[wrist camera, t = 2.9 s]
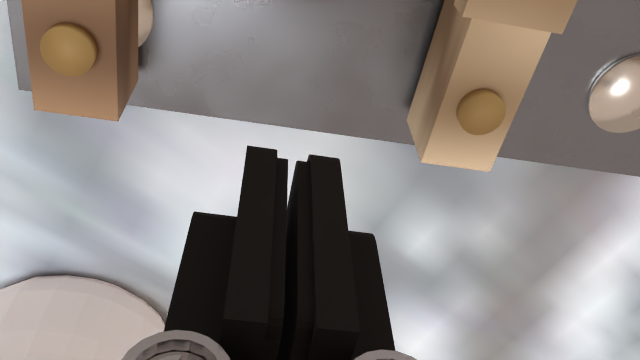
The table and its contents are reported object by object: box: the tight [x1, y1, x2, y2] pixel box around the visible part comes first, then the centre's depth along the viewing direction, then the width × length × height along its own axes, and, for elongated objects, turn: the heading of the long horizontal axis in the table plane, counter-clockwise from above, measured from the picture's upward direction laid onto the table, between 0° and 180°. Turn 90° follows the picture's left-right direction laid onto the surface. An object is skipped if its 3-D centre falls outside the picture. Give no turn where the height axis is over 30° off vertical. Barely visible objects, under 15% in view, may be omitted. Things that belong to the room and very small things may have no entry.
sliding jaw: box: [407, 0, 578, 172], centre depth 17 cm, size 10×3×3 cm, turn 169°
